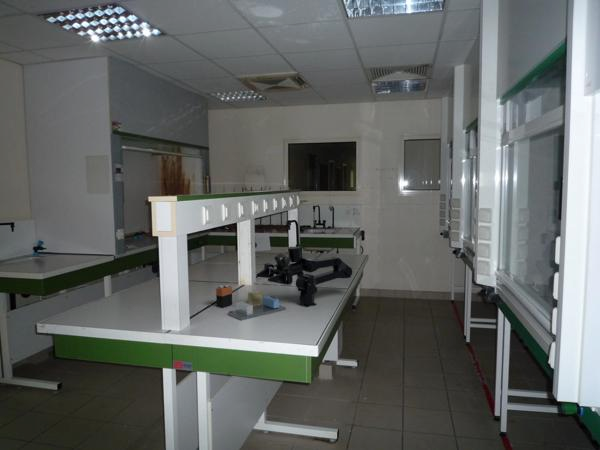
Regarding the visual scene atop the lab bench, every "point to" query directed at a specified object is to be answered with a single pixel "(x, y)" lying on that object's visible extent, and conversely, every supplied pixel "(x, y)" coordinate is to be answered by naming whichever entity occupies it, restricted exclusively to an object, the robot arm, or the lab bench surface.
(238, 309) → the vise
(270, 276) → the robot arm
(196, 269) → the lab bench surface
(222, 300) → the battery
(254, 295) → the brass block
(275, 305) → the block
